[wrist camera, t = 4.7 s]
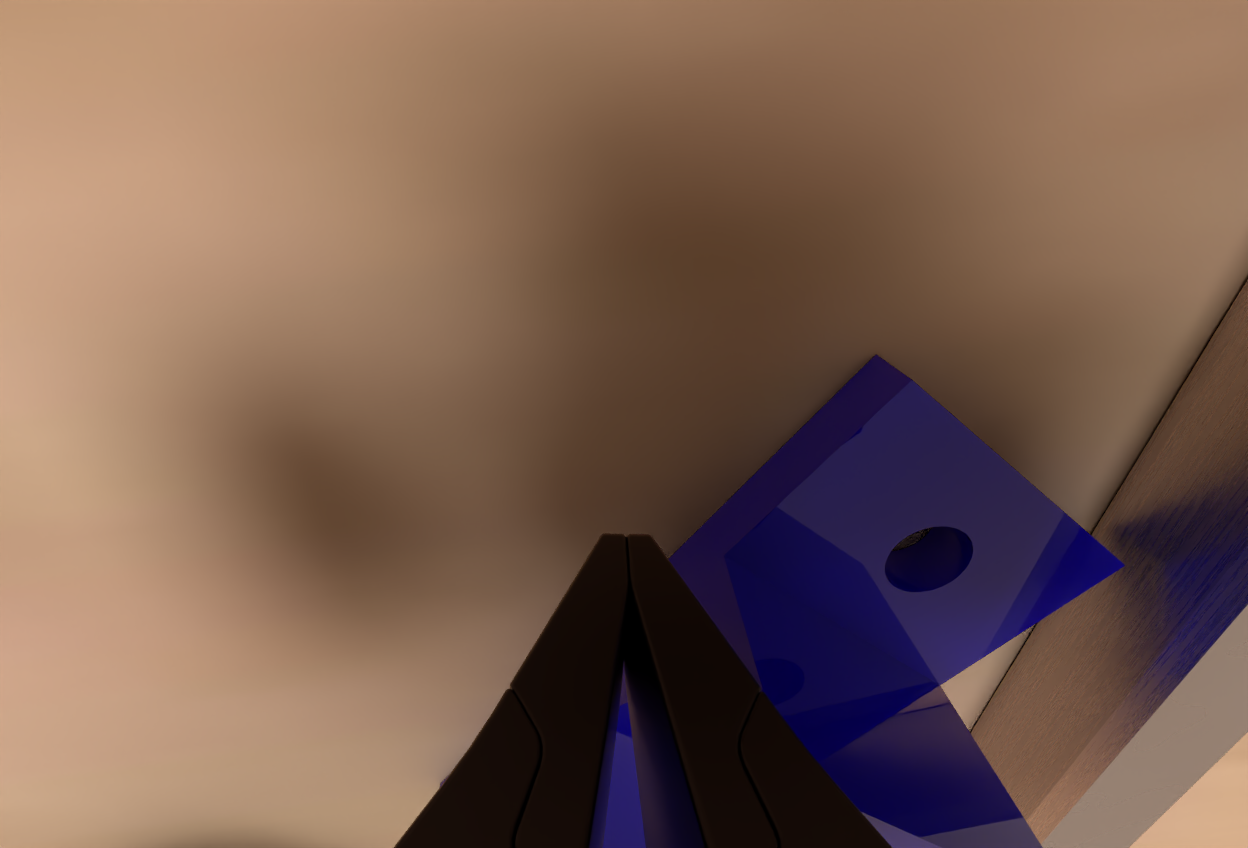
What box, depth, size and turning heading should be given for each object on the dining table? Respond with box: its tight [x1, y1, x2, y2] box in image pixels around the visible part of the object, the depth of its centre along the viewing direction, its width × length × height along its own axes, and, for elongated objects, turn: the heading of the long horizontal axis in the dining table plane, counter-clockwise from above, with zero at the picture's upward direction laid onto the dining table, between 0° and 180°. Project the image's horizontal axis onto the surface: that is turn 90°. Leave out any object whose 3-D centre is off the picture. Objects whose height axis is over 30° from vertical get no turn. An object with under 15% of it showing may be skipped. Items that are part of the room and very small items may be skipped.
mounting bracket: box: [440, 355, 1126, 848], centre depth 12 cm, size 18×7×6 cm, turn 143°
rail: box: [970, 280, 1248, 848], centre depth 10 cm, size 27×3×4 cm, turn 177°
